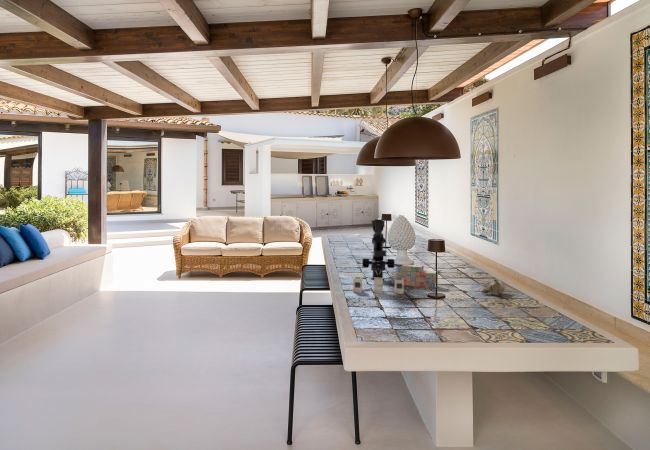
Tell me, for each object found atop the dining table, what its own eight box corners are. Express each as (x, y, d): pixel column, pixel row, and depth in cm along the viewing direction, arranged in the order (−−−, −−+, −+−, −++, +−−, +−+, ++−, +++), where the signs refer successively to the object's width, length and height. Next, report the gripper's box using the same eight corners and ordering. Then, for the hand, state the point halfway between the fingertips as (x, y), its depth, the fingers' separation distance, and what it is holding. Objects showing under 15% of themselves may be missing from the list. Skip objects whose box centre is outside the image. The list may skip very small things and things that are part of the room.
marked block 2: (394, 291, 283) (394, 277, 282) (403, 291, 283) (403, 277, 282) (394, 293, 278) (395, 279, 277) (403, 293, 277) (403, 279, 277)
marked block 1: (353, 290, 285) (353, 276, 285) (361, 290, 285) (362, 277, 284) (353, 292, 280) (353, 278, 279) (361, 292, 280) (361, 278, 279)
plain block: (373, 291, 284) (374, 277, 283) (382, 291, 284) (382, 277, 283) (373, 293, 279) (374, 279, 279) (382, 293, 279) (382, 279, 278)
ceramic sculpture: (509, 278, 278) (498, 284, 267) (509, 293, 279) (498, 299, 268) (491, 276, 285) (480, 281, 274) (491, 290, 286) (480, 296, 275)
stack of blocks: (437, 286, 297) (438, 266, 295) (435, 288, 291) (435, 268, 290) (404, 283, 307) (404, 263, 305) (401, 284, 301) (401, 265, 300)
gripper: (362, 245, 285) (362, 266, 275) (394, 245, 283) (395, 267, 273) (362, 256, 294) (362, 277, 284) (393, 256, 292) (394, 278, 282)
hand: (378, 275), depth 280 cm, fingers closed
